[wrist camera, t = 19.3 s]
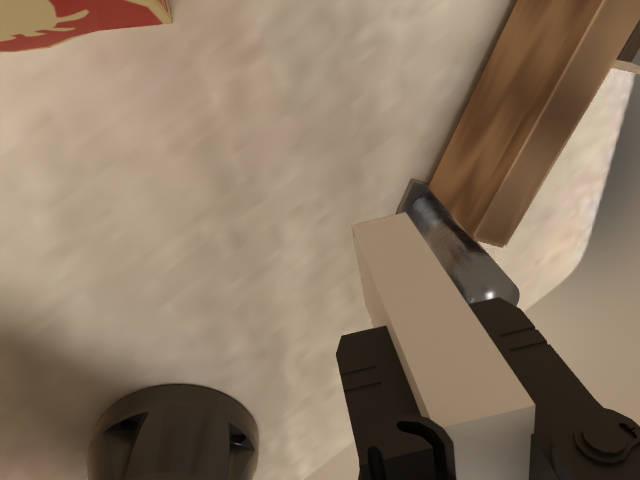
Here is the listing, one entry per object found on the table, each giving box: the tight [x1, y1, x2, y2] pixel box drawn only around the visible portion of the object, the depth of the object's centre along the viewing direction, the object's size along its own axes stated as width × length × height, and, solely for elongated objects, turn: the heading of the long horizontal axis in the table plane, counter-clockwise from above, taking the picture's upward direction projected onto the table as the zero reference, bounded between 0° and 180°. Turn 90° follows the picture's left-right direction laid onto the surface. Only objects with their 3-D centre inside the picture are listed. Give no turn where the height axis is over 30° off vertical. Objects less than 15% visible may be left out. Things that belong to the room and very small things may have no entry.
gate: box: [428, 0, 640, 248], centre depth 27 cm, size 15×2×8 cm, turn 160°
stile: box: [611, 20, 640, 74], centre depth 26 cm, size 5×4×10 cm
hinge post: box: [396, 179, 519, 306], centre depth 30 cm, size 4×4×12 cm
